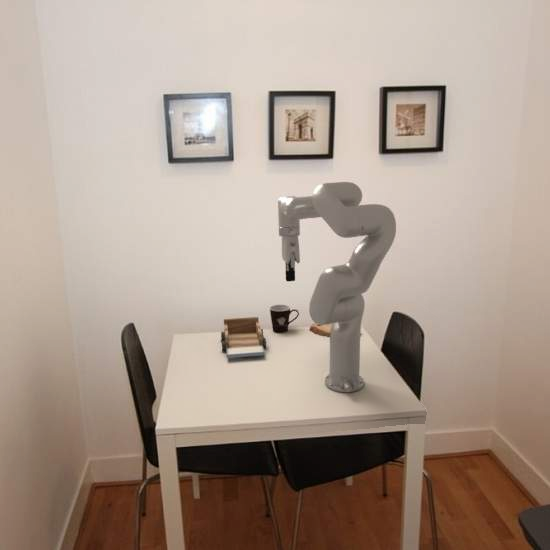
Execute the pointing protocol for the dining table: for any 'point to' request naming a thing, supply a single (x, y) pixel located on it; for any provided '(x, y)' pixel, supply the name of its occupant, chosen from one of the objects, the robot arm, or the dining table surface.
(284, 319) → the coffee mug
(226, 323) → the truck bed
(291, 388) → the dining table surface
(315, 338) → the dining table surface
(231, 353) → the panel
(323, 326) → the bread slice
